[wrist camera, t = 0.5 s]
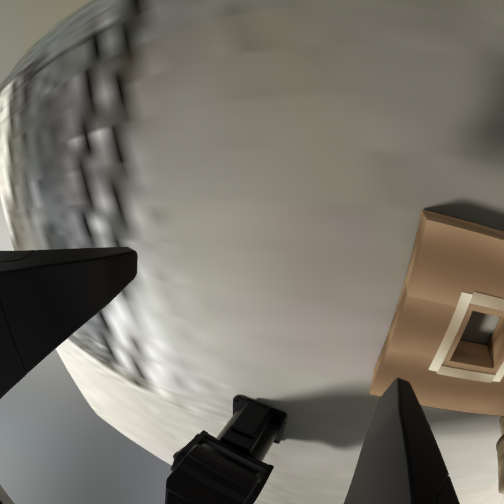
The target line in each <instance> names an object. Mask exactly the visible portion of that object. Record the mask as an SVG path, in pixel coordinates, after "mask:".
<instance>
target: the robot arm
mask: <svg viewBox="0 0 504 504" xmlns="http://www.w3.org/2000/svg"><path fill="white" fill-rule="evenodd" d="M137 257H138V256H137V252H136V251H134V250H133V249H131V248H129V247H108V248H80V249H54V250H37V251H35V250H29V251H0V399H1V398H2V397H3V396H4V395H5V394H6V393H7V392H8V391H9V390H10V389H11V388H12V387H13V386H14V385H16V383H18V382H19V381H20V380H21V379H22V378H23V377H24V376H25V375H26V374H27V373H28V372H29V371H30V370H32V369H33V368H34V367H35V366H36V365H37V364H38V363H40V362H41V361H42V360H43V359H44V358H45V357H46V356H47V355H49V354H50V353H51V352H52V351H53V350H54V349H55V348H57V347H58V346H59V345H60V344H61V343H62V342H64V341H65V340H66V339H67V338H68V337H69V336H71V335H72V334H73V333H74V332H75V331H76V330H78V329H79V328H80V327H81V326H82V325H84V324H85V323H86V322H87V321H88V320H90V319H91V318H92V317H93V316H94V315H96V314H97V313H98V312H99V311H101V310H102V309H103V308H104V307H105V306H106V305H108V304H109V303H110V302H111V301H112V300H113V299H114V298H115V297H116V296H117V295H118V294H119V293H120V292H121V291H122V290H123V289H124V288H125V287H126V286H127V285H128V284H129V283H130V282H131V281H132V280H133V279H134V278H135V276H136V274H137ZM286 419H287V415H286V414H285V413H283V412H280V411H277V410H274V409H271V408H269V407H266V406H263V405H261V404H258V403H255V402H253V401H250V400H248V399H245V398H242V397H240V396H235V397H234V398H233V416H232V418H231V419H230V421H229V422H228V423H227V425H226V426H225V427H224V429H223V430H222V431H221V433H220V434H219V435H218V437H217V438H215V437H213V436H211V435H210V434H208V432H206V431H204V430H203V431H202V432H201V433H200V434H197V435H196V436H195V437H194V438H193V439H192V440H191V441H190V442H189V443H188V444H187V445H186V446H185V447H183V448H182V449H180V450H179V451H177V452H176V453H175V454H174V456H173V458H174V462H173V465H172V467H171V471H172V473H171V475H170V476H169V477H168V478H167V481H166V499H165V504H253V503H254V502H255V500H256V499H257V497H258V496H259V494H260V492H261V490H262V489H263V487H264V485H265V483H266V481H267V479H268V477H269V475H270V473H271V471H272V470H273V468H274V466H272V465H268V464H266V463H264V462H262V461H263V459H264V457H265V455H266V454H267V452H268V450H269V449H270V447H271V445H272V443H273V442H274V443H277V444H278V443H280V441H281V438H282V434H283V430H284V427H285V423H286ZM448 475H449V474H448V471H447V468H446V465H445V463H444V460H443V458H442V455H441V453H440V450H439V448H438V445H437V443H436V440H435V438H434V435H433V433H432V431H431V428H430V426H429V424H428V421H427V419H426V417H425V414H424V412H423V410H422V408H421V405H420V403H419V401H418V399H417V397H416V395H415V392H414V390H413V388H412V386H411V384H410V382H409V381H407V380H404V379H402V378H396V379H395V380H394V381H393V382H392V383H391V385H390V386H389V387H388V388H387V390H386V391H385V392H384V393H383V395H382V396H381V398H380V400H379V402H378V405H377V408H376V411H375V414H374V417H373V419H372V422H371V425H370V427H369V430H368V433H367V435H366V438H365V440H364V443H363V446H362V449H361V453H360V456H359V459H358V463H357V466H356V469H355V473H354V476H353V479H352V482H351V485H350V488H349V491H348V493H347V496H346V499H345V502H344V504H460V503H459V501H458V498H457V495H456V492H455V490H454V487H453V484H452V482H451V479H450V477H449V476H448ZM0 504H14V503H13V501H12V500H11V499H10V498H9V496H8V495H7V494H6V492H5V491H4V490H3V488H2V487H1V485H0Z"/></svg>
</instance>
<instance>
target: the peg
mask: <svg viewBox="0 0 504 504" xmlns="http://www.w3.org/2000/svg"><path fill="white" fill-rule="evenodd" d="M500 425H501V432H502V436H501V437H500V439H499V440H498V442H497V444H496V448H497V455H498V477H499V492H500V493H503V494H504V416H502V417H501V419H500Z"/></svg>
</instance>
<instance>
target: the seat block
mask: <svg viewBox="0 0 504 504" xmlns="http://www.w3.org/2000/svg"><path fill="white" fill-rule="evenodd" d="M472 311H477V312H481V313H485V314H490V315H494V316H499V317H500V319H499V322H498V324H497V326H496V328H495V330H494V332H493V334H492V337H491V339H490V341H489V343H488V344H487V345H482V344H477V343H472V342H467V341H462V340H460V338H461V336H462V334H463V332H464V330H465V328H466V325H467V323H468V321H469V318H470V316H471V314H472ZM396 378H402V379H404V380H407V381H409V382H410V384H411V386H412V388H413V390H414V392H415V395H416V397H417V399H418V401H419V403H420V405H424V406H429V407H435V408H441V409H448V410H455V411H462V412H469V413H478V414H487V415H498V416H504V232H503V231H500V230H497V229H493V228H490V227H487V226H483V225H480V224H476V223H472V222H469V221H465V220H461V219H458V218H454V217H450V216H446V215H442V214H438V213H434V212H430V211H426V210H421V215H420V220H419V225H418V230H417V234H416V239H415V243H414V248H413V252H412V256H411V260H410V264H409V268H408V271H407V275H406V279H405V282H404V286H403V289H402V292H401V296H400V299H399V302H398V305H397V309H396V312H395V315H394V318H393V321H392V324H391V326H390V329H389V332H388V335H387V338H386V340H385V343H384V346H383V348H382V351H381V354H380V356H379V359H378V361H377V364H376V366H375V369H374V372H373V377H372V382H371V387H370V392H369V394H372V395H376V396H380V397H381V396H382V395H383V393H384V392H385V391H386V390H387V388H388V387H389V386H390V385H391V383H392V382H393V381H394V380H395V379H396Z"/></svg>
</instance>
